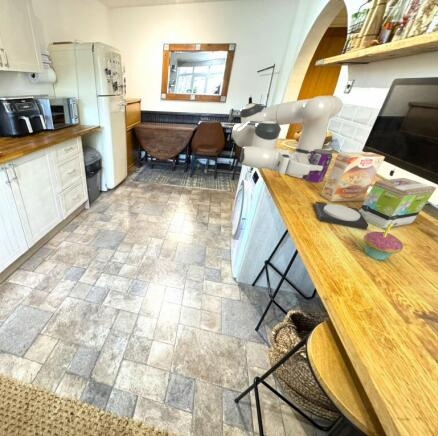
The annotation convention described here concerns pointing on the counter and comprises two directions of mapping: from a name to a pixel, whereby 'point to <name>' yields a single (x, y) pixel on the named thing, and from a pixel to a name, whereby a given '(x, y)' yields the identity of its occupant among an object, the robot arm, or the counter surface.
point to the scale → (340, 215)
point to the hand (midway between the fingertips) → (320, 165)
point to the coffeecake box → (351, 176)
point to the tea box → (395, 201)
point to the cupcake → (382, 244)
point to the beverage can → (318, 158)
